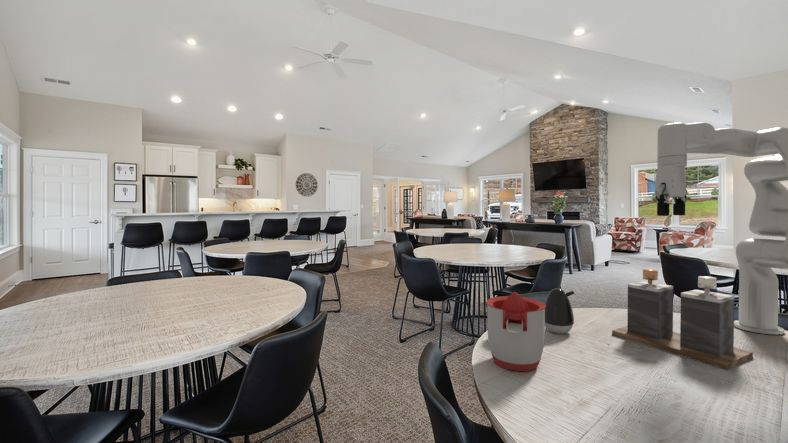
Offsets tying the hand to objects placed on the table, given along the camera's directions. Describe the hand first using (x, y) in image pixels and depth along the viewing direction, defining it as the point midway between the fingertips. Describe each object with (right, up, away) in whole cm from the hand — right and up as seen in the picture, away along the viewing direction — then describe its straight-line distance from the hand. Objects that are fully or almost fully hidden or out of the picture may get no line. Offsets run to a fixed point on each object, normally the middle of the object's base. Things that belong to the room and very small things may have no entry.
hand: (671, 215), depth 114 cm
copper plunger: (-6, -38, +2) cm, 39 cm away
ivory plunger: (+1, -39, -11) cm, 40 cm away
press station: (-2, -41, -5) cm, 41 cm away
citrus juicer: (-57, -42, -17) cm, 72 cm away
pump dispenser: (-33, -41, +9) cm, 53 cm away
